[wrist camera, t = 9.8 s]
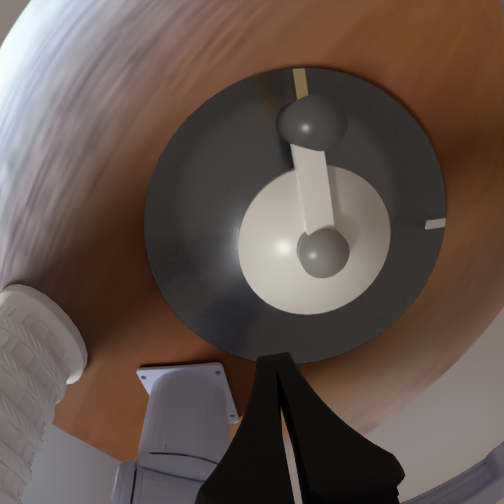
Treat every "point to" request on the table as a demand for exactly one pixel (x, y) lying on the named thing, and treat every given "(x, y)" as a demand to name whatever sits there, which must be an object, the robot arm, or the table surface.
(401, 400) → the table surface
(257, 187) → the dial plate
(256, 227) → the dial
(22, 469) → the decorative container
